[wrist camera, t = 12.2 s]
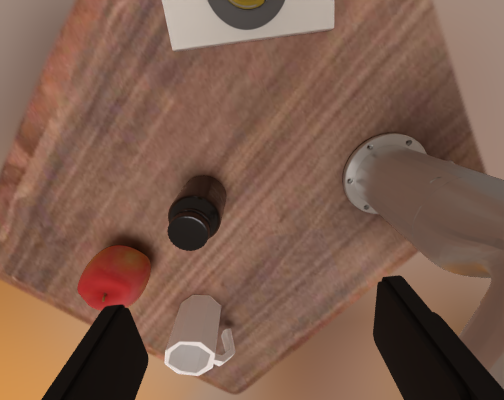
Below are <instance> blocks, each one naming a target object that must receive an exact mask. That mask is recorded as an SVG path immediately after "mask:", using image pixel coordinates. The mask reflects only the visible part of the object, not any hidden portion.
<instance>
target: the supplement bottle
mask: <svg viewBox="0 0 504 400" xmlns="http://www.w3.org/2000/svg"><path fill="white" fill-rule="evenodd" d="M225 202H226V193H225V190H224V187H223V186H222V184H221V183H220V182H219V181H217V180H216V179H214V178H212V177H209V176H197V177H194V178H192V179H191V180H189V181H188V182H187V183H186V185H185V186H184V187H183V189H182V190H181V192H180V193H179V195H178V196H177V198H176V199H175V200H174V202H173V203H172V205H171V207H170V209H169V213H168V221H169V226H168V236H169V239H170V241H171V242H172V243H173V244H174V245H175V246H176V247H178V248H179V249H182V250H186V251H188V250H189V251H192V250H197V249H199V248H201V247H202V246H204V245H205V243H206V242H207V240H208V239H209V238H211V237H212V236H214V235H215V234H216V232H217V231H218V229H219V227H220V224H221V220H222V215H223V211H224V207H225Z"/></svg>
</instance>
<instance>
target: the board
mask: <svg viewBox="0 0 504 400" xmlns="http://www.w3.org/2000/svg"><path fill="white" fill-rule="evenodd" d="M162 3H163V7H164V12H165V17H166V22H167V26H168V31H169V36H170V40H171V45H172V50H173V51H175V52H177V51H185V50H192V49H199V48H206V47H214V46H221V45H228V44H235V43H243V42H250V41H257V40H264V39H272V38H279V37H286V36H293V35H300V34H308V33H315V32H322V31H329V30H332V29H333V28H334V0H285V2H284V4H283V6H282V8H281V9H280V11H279V12H278V14H277V15H276V16H275V17H274V18H273V19H272V20H271V21H270V22H268V23H267V24H266V25H264V26H262V27H259V28H257V29H252V30H241V29H237V28H234V27H231V26H229V25H228V24H226V23H225V22H223V21H222V20H221V19H220V18H219V17H218V16H217V15H216V14H215V12H214V11H213V10H212V8H211V6H210V5H209V3H208V0H162Z"/></svg>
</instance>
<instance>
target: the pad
mask: <svg viewBox="0 0 504 400" xmlns="http://www.w3.org/2000/svg"><path fill="white" fill-rule="evenodd" d="M284 2H285V0H267V1H266V3H265V4H263V5H262V6H261V7H259V8H257V9H255V10H250V11H245V10H240V9H238V8H236V7H234V6H233V5H231V4H230V3H229V2H228V1H227V0H208V3H209V5H210V6H211V8H212V10H213V11H214V12H215V14H216V15H217V16H218V17H219V18H220V19H221V20H222V21H223V22H225V23H226V24H228V25H229V26H231V27H234V28H237V29H241V30H252V29H257V28H259V27H262V26H264V25H266V24H267V23H268V22H270V21H271V20H272V19H273V18H274V17H275V16H276V15H277V14H278V12H279V11H280V9H281V8H282V6H283V4H284Z"/></svg>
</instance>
